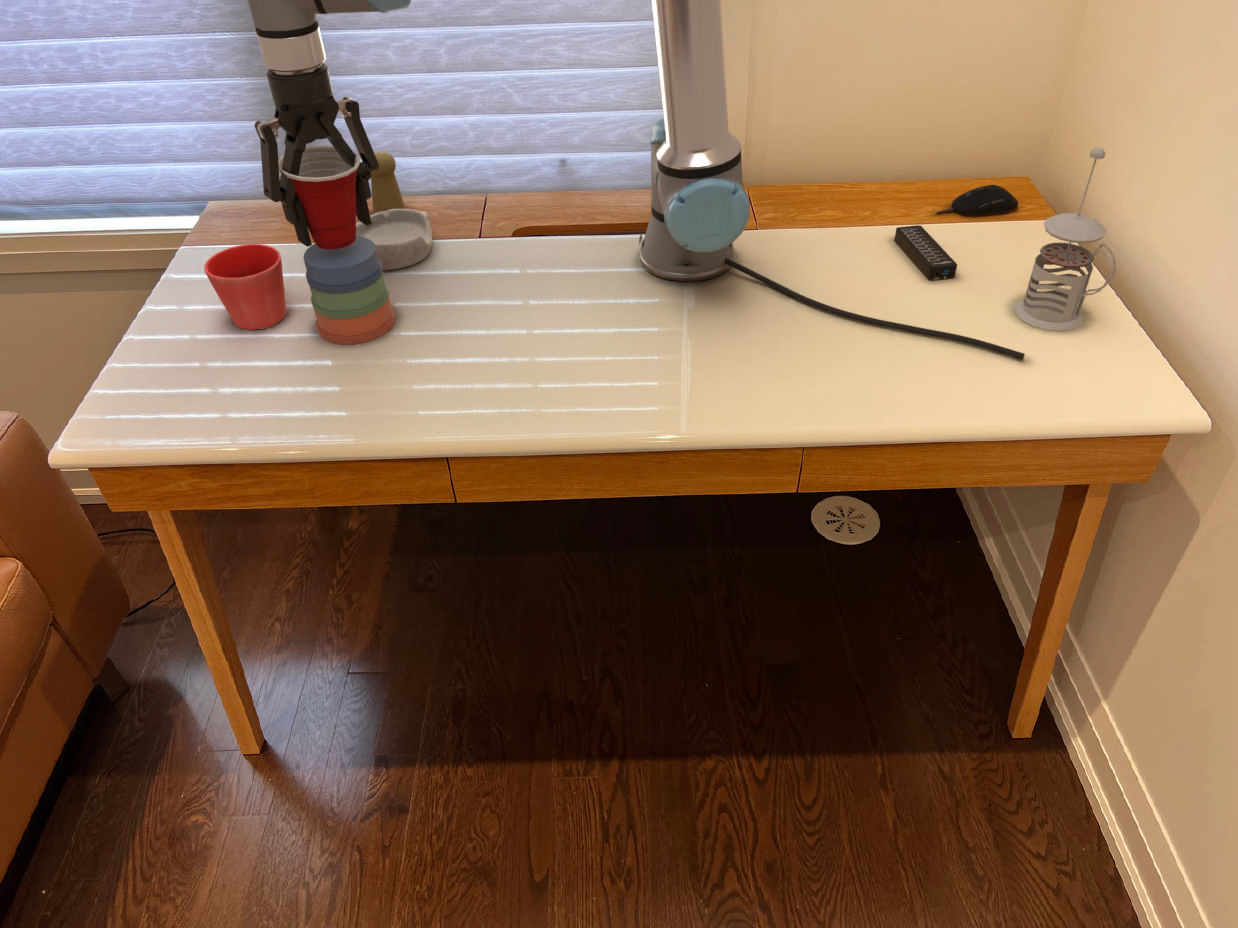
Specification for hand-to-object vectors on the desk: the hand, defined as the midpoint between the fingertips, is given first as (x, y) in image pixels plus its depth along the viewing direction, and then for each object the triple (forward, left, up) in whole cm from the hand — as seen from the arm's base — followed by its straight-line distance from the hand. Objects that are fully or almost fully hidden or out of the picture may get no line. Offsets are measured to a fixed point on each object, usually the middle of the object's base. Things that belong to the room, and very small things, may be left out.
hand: (335, 232), depth 134 cm
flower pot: (+12, +10, -15) cm, 22 cm away
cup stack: (0, 0, -15) cm, 15 cm away
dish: (+16, -16, -15) cm, 27 cm away
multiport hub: (-46, -78, -15) cm, 92 cm away
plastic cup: (0, 0, -2) cm, 2 cm away
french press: (-70, -77, -15) cm, 105 cm away
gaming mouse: (-42, -100, -15) cm, 110 cm away
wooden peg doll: (+30, -23, -15) cm, 41 cm away
